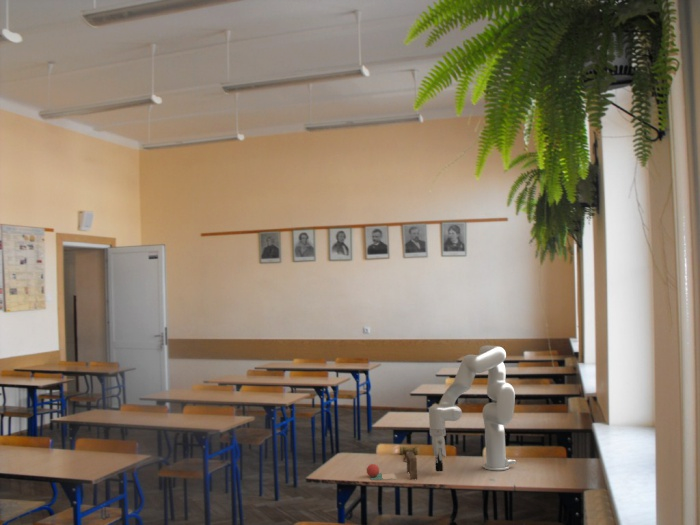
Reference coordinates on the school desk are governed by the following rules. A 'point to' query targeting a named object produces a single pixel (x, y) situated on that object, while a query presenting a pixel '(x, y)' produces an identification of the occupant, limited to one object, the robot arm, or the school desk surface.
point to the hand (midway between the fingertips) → (439, 470)
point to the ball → (372, 470)
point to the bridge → (411, 465)
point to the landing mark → (377, 477)
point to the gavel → (408, 449)
